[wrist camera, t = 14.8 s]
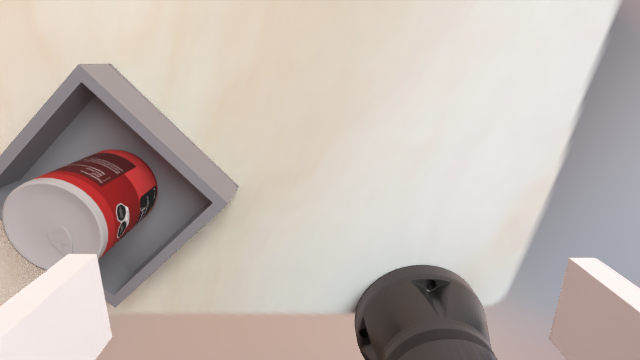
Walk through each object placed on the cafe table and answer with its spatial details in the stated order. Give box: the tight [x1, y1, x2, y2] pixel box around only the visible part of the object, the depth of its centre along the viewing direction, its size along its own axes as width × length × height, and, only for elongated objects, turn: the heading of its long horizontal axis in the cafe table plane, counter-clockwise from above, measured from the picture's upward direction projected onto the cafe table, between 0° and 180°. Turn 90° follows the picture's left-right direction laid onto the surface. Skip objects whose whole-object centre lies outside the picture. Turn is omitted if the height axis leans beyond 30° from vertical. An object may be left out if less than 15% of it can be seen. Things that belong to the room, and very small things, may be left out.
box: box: [0, 64, 239, 307], centre depth 37 cm, size 17×17×5 cm
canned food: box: [2, 149, 158, 270], centre depth 34 cm, size 8×8×11 cm
